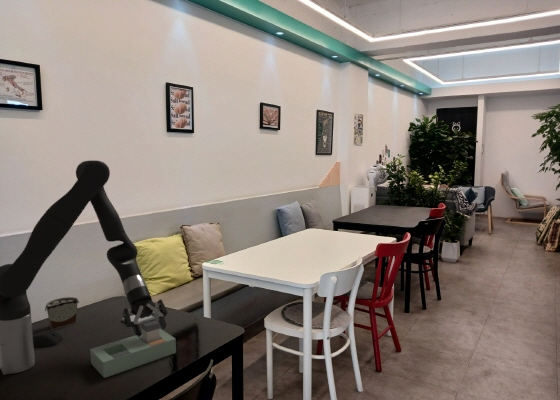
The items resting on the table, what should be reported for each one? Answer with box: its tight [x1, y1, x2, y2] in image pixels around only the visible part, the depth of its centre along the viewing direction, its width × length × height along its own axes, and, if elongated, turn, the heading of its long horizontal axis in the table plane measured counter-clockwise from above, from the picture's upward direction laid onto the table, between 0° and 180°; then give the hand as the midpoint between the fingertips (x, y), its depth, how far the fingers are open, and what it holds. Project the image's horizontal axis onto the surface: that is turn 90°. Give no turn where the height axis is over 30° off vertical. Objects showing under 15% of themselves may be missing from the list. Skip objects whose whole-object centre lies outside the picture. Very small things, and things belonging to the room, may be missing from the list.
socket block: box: [89, 327, 177, 379], centre depth 141 cm, size 24×12×5 cm, turn 132°
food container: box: [44, 296, 80, 331], centre depth 170 cm, size 12×6×10 cm, turn 134°
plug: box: [140, 319, 160, 344], centre depth 145 cm, size 4×4×10 cm
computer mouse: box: [33, 329, 64, 347], centre depth 155 cm, size 6×11×4 cm, turn 86°
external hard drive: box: [121, 312, 157, 325], centre depth 175 cm, size 2×8×12 cm
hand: (152, 332), depth 144 cm, fingers open, 8 cm apart
